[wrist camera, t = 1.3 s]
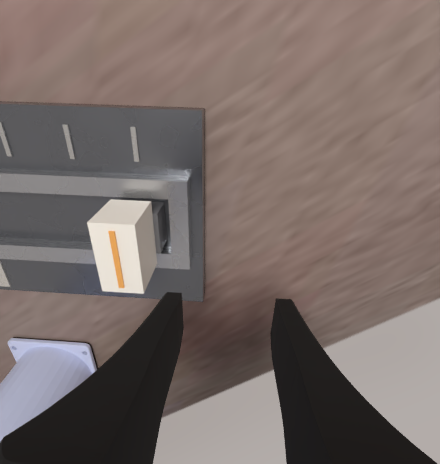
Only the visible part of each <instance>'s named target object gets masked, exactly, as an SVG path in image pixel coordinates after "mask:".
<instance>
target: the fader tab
mask: <svg viewBox="0 0 440 464" xmlns="http://www.w3.org/2000/svg"><path fill="white" fill-rule="evenodd" d="M87 225H88V229H89V234H90V238H91V243H92V247H93V252H94V256H95V261H96V265H97V270H98V274H99V279H100V283H101V288H102V291H106V292H123V293H139V294H144V292H145V290H146V288H147V285H148V283H149V281H150V279H151V276H152V274H153V272H154V269H155V267H156V265H157V256H156V253H161V252H162V250H163V247H164V245H165V243H166V240H167V232H166V218H165V205H164V202H151V201H135V200H114V199H111V200H110V201H109V202H108V203H106V204H105V205H104V206H103V207H102V208H101V209H100V210H99V211H98V212H97V213H96V214H95V215H94V216H93V217H92V218H91V219H90V220H89V221H88V222H87Z"/></svg>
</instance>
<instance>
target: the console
mask: <svg viewBox="0 0 440 464" xmlns="http://www.w3.org/2000/svg"><path fill="white" fill-rule="evenodd" d="M111 199H114V200H135V201H151V202H164V205H165V218H166V232H167V240H166V243H165V245H164V247H163V250H162V252H161V253H156V256H157V265H156V267H155V269H154V272H153V274H152V276H151V279H150V281H149V283H148V285H147V288H146V290H145V292H144V294H139V293H123V292H106V291H102V288H101V283H100V279H99V274H98V270H97V265H96V261H95V256H94V252H93V247H92V243H91V238H90V234H89V229H88V225H87V222H88V221H89V220H90V219H91V218H92V217H93V216H94V215H95V214H96V213H97V212H98V211H99V210H100V209H101V208H102V207H103V206H104V205H105V204H106V203H108V202H109V201H110V200H111ZM0 289H6V290H22V291H38V292H54V293H71V294H87V295H103V296H119V297H135V298H151V299H162V297H163V296H164V294H165V293H167V292H176V293H182V300H184V301H200V302H203V299H204V293H205V132H204V108H182V107H152V106H122V105H92V104H62V103H32V102H2V101H0Z"/></svg>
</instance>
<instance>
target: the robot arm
mask: <svg viewBox="0 0 440 464" xmlns="http://www.w3.org/2000/svg"><path fill="white" fill-rule="evenodd" d="M182 334H183V308H182V293H176V292H167V293H165V294H164V296H163V297H162V299H161V300H160V302H159V303H158V304H157V306H156V307H155V308H154V310H153V311H152V312H151V313H150V315H149V316H148V317H147V318H146V320H145V321H144V322H143V323H142V324H141V326H140V327H139V328H138V329H137V330H136V332H135V333H134V334H133V335H132V336H131V337H130V338H129V339H128V340H127V341H126V342H125V343H124V345H123V346H122V347H121V348H120V349H119V350H118V351H117V352H116V353H115V354H114V355H113V356H112V357H111V358H110V359H108V360H107V361H106V362H105V363H104V364H103V365H102V366H101V367H100V368H99V369H97V368H96V364H95V361H94V357H93V354H92V350H91V347H90V345H89V344H87V343H78V342H64V341H50V340H35V339H21V338H11V339H10V340H9V341H8V345H9V347H10V349H11V351H12V354H13V356H14V358H15V360H16V362H17V363H16V364H15V366H14V367H13V368H12V370H11V371H10V372H9V373H8V375H7V376H6V377H5V379H4V380H3V381H2V382H1V384H0V464H153V459H154V454H155V448H156V443H157V438H158V432H159V427H160V422H161V417H162V413H163V409H164V405H165V401H166V398H167V394H168V391H169V387H170V384H171V380H172V377H173V373H174V370H175V366H176V362H177V359H178V355H179V352H180V346H181V340H182ZM271 350H272V360H273V366H274V372H275V378H276V383H277V389H278V395H279V400H280V407H281V412H282V419H283V427H284V438H285V449H286V461H287V464H437V463H436V462H435V461H433V460H432V459H431V458H430V457H428V456H427V455H426V454H425V453H424V452H422V451H421V450H420V449H418V448H417V447H416V446H415V445H414V444H413V443H411V442H410V441H409V440H408V439H407V438H406V437H405V436H403V435H402V434H401V433H400V432H399V431H398V430H397V429H396V428H394V427H393V426H392V425H391V424H390V423H389V422H388V421H387V420H386V419H385V418H384V417H383V416H382V415H381V414H380V413H379V412H378V411H377V410H376V409H375V408H374V407H373V406H372V405H371V404H369V402H368V401H367V400H366V399H365V398H364V397H363V396H362V395H361V394H360V393H359V392H358V391H357V390H356V389H355V388H354V387H353V385H351V383H350V382H349V381H348V380H347V379H346V377H345V376H344V375H343V374H342V373H341V372H340V370H339V369H338V368H337V367H336V366H335V364H334V363H333V362H332V360H331V359H330V358H329V356H328V355H327V354H326V352H325V351H324V350H323V348H322V347H321V345H320V344H319V343H318V341H317V340H316V338H315V337H314V335H313V334H312V332H311V331H310V329H309V328H308V326H307V325H306V323H305V321H304V320H303V318H302V317H301V315H300V313H299V311H298V310H297V308H296V306H295V304H294V302H293V301H292V300H291V299H276V302H275V308H274V315H273V321H272V328H271Z"/></svg>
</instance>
